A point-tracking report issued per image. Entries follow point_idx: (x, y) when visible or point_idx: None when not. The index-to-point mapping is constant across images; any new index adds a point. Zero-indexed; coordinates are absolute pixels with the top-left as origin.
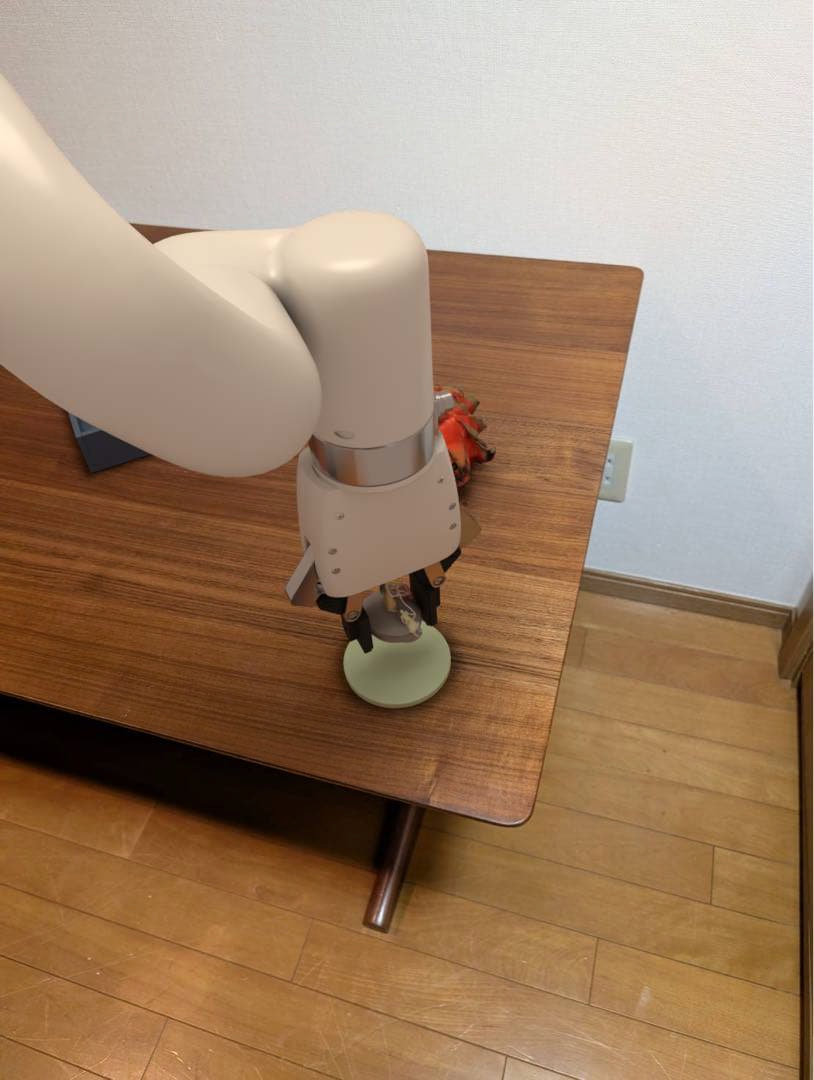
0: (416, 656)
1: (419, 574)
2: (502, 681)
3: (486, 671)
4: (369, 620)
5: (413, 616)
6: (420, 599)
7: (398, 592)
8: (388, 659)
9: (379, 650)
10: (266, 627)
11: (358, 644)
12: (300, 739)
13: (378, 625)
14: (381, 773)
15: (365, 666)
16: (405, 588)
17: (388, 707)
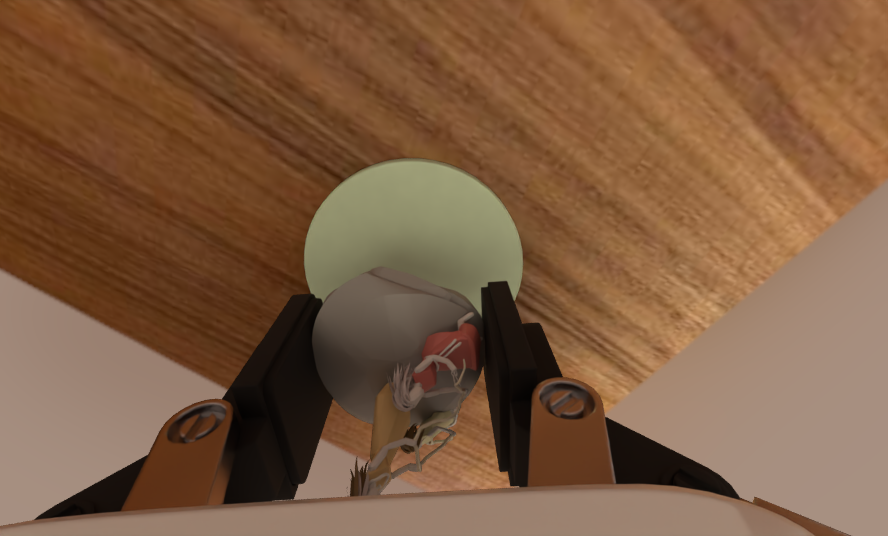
0: (452, 283)
1: (514, 452)
2: (568, 362)
3: (556, 337)
4: (306, 477)
5: (451, 401)
6: (490, 385)
7: (417, 467)
8: (397, 268)
9: (386, 242)
10: (135, 44)
11: (347, 208)
12: (208, 340)
13: (351, 403)
14: (327, 424)
15: (348, 265)
16: (464, 354)
17: None
